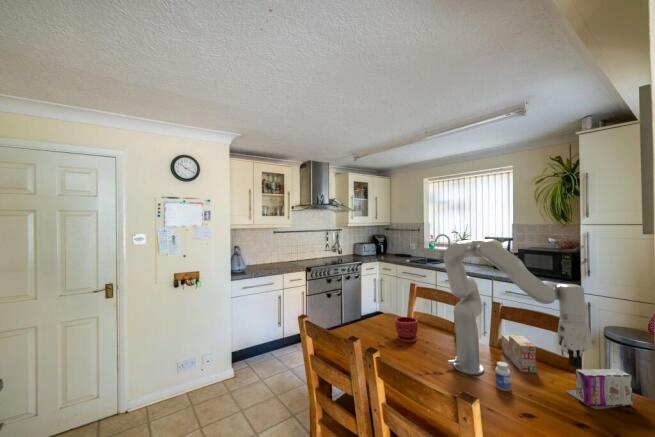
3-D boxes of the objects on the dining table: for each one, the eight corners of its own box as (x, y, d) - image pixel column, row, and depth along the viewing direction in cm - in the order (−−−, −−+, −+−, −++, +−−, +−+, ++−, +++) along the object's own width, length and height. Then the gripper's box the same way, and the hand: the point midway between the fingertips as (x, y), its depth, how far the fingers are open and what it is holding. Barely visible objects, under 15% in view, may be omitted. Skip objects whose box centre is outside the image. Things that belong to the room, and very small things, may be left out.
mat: (595, 409, 100) (595, 408, 100) (565, 392, 111) (565, 390, 111) (628, 405, 102) (628, 404, 102) (595, 388, 113) (595, 387, 113)
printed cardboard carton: (501, 351, 148) (500, 328, 148) (514, 352, 147) (513, 329, 147) (521, 372, 127) (520, 345, 127) (537, 373, 126) (535, 345, 126)
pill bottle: (492, 384, 118) (491, 360, 118) (504, 383, 118) (503, 360, 118) (502, 391, 112) (500, 367, 113) (514, 390, 113) (513, 366, 113)
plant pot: (420, 337, 169) (420, 317, 170) (414, 345, 158) (414, 324, 159) (399, 333, 176) (399, 314, 177) (392, 341, 165) (392, 320, 166)
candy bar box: (575, 397, 106) (619, 398, 106) (586, 406, 101) (633, 406, 101) (574, 368, 107) (619, 368, 106) (586, 375, 102) (632, 375, 101)
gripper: (565, 321, 101) (568, 373, 101) (600, 319, 103) (603, 369, 103) (546, 315, 109) (548, 363, 108) (579, 313, 111) (582, 360, 110)
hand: (575, 366), depth 105 cm, fingers closed
